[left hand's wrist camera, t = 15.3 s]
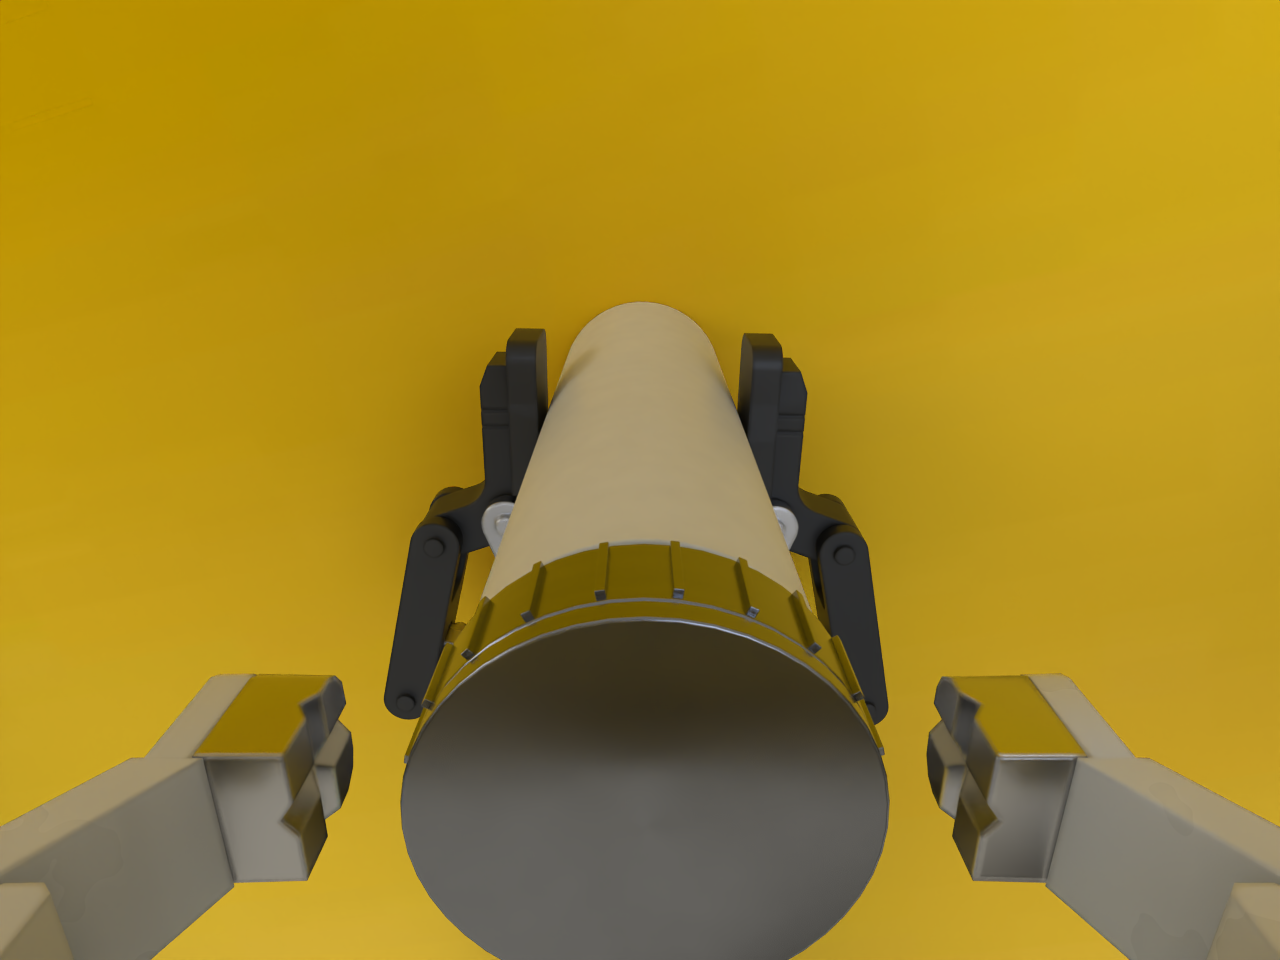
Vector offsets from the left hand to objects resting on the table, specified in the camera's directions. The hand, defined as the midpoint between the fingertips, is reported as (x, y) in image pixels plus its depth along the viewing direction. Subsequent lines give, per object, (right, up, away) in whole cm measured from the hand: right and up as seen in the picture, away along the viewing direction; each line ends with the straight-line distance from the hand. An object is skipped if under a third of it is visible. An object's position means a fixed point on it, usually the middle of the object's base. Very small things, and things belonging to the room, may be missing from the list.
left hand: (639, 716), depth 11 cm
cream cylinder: (0, +6, +16) cm, 17 cm away
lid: (0, -1, -2) cm, 2 cm away
